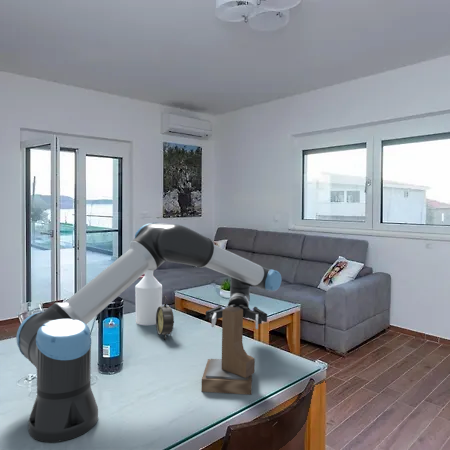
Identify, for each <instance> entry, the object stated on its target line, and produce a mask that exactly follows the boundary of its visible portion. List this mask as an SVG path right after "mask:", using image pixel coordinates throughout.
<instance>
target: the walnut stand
mask: <svg viewBox="0 0 450 450" xmlns="http://www.w3.org/2000/svg"><path fill="white" fill-rule="evenodd" d="M252 383H253V374H252V375H250V376H249V377H247V378H244V377H241V376H239V375H236V374H233V373H230V372H228V371H225V370H222V358H209V359H207V362H206V365H205V367H204V371H203V373H202V376H201V392H202V393H217V394H218V393H219V394H236V395H252V391H253V390H252V387H253V385H252Z"/></svg>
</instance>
